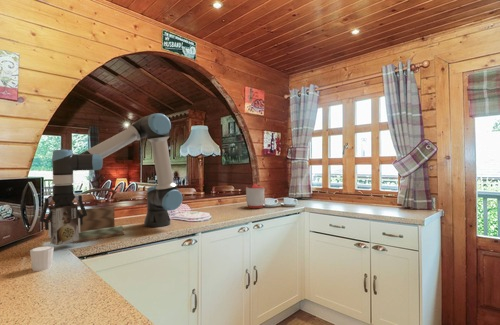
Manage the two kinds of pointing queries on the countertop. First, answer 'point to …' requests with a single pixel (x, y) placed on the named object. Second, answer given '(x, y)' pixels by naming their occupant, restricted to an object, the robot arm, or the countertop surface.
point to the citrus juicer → (255, 196)
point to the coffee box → (64, 224)
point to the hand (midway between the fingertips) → (64, 234)
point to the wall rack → (98, 224)
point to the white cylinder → (41, 258)
